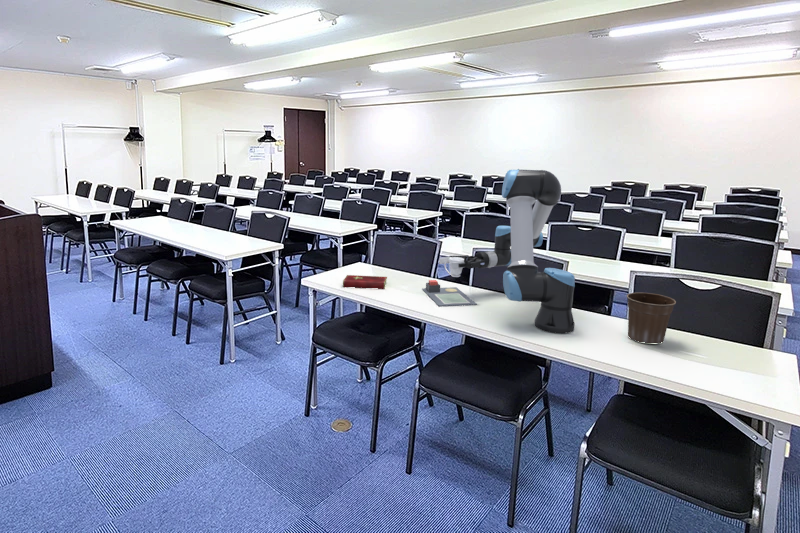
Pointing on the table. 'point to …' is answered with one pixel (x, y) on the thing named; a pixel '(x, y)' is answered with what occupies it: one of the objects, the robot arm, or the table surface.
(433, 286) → the button housing
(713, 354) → the table surface
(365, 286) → the hardcover book
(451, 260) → the cup
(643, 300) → the plant pot
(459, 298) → the picture board
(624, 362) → the table surface
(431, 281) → the button
